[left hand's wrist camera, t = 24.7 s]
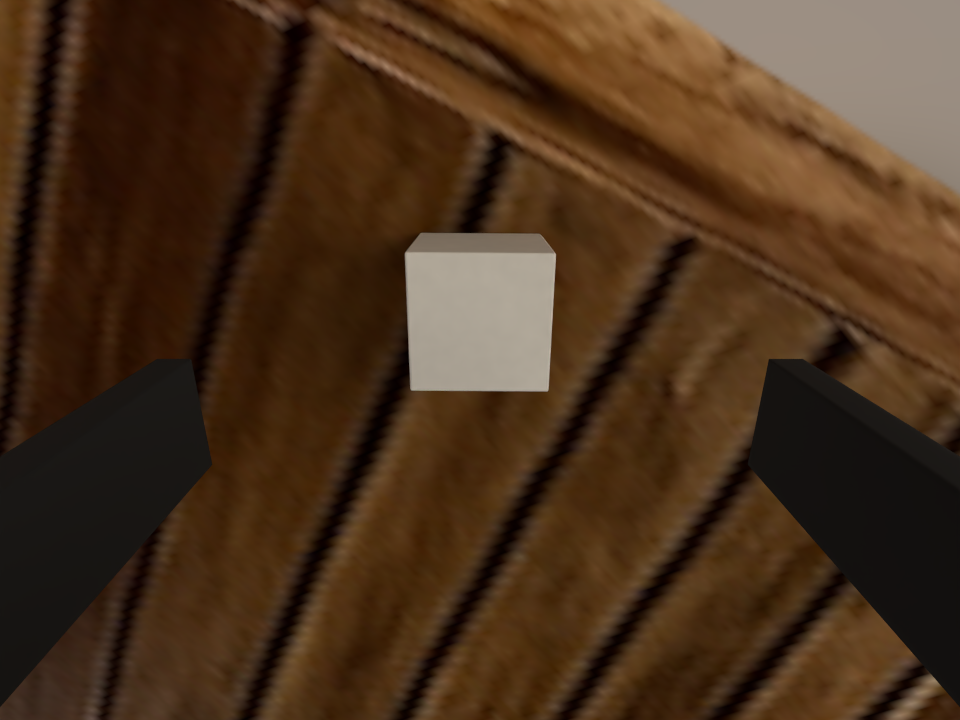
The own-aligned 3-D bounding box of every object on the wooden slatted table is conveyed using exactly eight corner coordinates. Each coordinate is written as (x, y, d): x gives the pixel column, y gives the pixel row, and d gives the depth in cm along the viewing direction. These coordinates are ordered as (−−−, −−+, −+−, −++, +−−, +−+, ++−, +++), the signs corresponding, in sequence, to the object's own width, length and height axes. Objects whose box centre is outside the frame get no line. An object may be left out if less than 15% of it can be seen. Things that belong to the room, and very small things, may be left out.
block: (540, 233, 23) (556, 253, 18) (535, 347, 24) (548, 392, 20) (419, 232, 23) (404, 252, 18) (423, 346, 24) (410, 391, 20)
